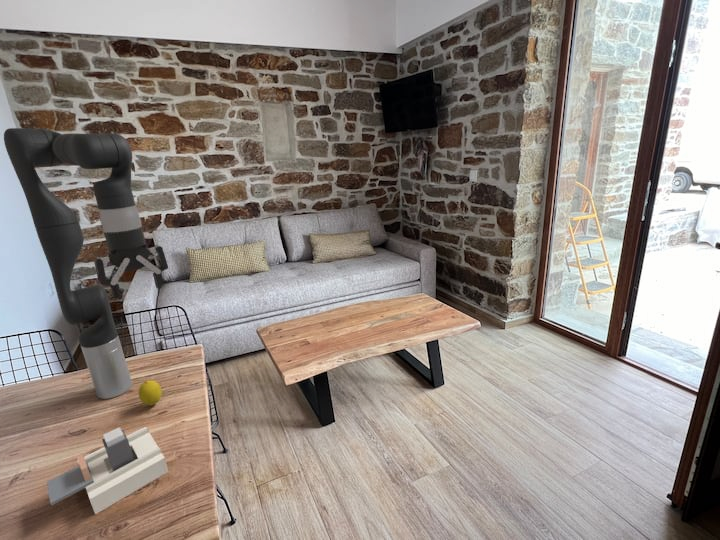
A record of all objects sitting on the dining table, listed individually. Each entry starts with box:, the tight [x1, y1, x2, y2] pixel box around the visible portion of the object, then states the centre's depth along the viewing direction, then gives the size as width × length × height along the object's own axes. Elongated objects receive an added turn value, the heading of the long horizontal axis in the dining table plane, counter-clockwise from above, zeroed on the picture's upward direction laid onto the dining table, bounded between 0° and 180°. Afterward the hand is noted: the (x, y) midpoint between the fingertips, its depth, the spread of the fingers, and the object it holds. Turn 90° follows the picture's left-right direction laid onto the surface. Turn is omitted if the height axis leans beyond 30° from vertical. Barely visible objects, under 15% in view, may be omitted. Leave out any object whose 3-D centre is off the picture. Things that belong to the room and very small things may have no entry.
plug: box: [101, 427, 134, 472], centre depth 82 cm, size 4×4×10 cm
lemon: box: [138, 379, 163, 406], centre depth 105 cm, size 6×6×8 cm
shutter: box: [45, 453, 94, 506], centre depth 76 cm, size 7×7×4 cm
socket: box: [77, 426, 169, 515], centre depth 83 cm, size 14×14×5 cm
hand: (139, 293), depth 89 cm, fingers open, 8 cm apart
